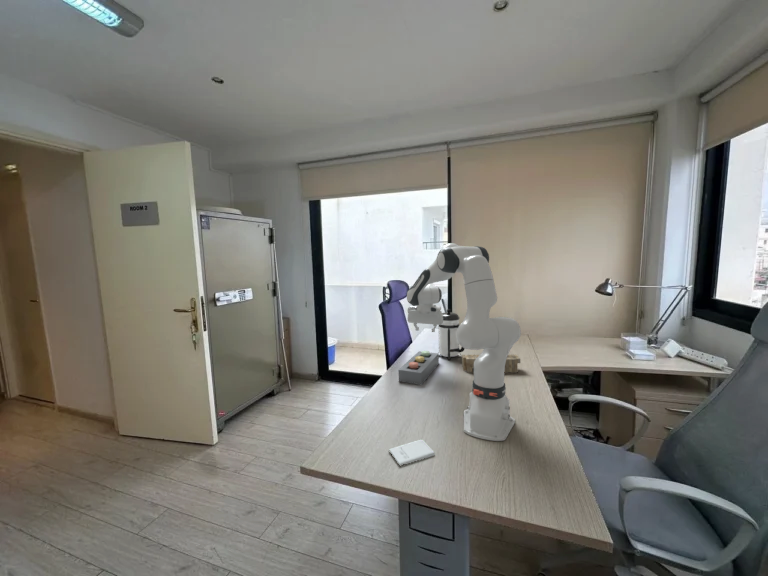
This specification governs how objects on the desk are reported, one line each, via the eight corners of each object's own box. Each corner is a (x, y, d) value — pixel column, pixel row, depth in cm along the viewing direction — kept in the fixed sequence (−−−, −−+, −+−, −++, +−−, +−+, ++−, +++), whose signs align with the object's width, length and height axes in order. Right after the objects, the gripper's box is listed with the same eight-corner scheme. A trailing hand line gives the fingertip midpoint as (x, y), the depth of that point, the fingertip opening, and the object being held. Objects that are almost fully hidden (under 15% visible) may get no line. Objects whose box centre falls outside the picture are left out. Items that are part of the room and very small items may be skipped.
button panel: (421, 384, 153) (421, 372, 152) (398, 381, 158) (398, 369, 157) (438, 363, 181) (438, 353, 181) (419, 361, 186) (419, 351, 186)
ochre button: (422, 362, 166) (422, 359, 165) (414, 361, 168) (414, 358, 168) (425, 360, 170) (425, 356, 170) (417, 359, 172) (417, 355, 172)
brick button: (416, 369, 157) (416, 365, 156) (407, 368, 159) (407, 364, 159) (419, 366, 161) (419, 362, 161) (410, 365, 163) (410, 361, 163)
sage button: (428, 357, 175) (428, 353, 174) (420, 356, 177) (420, 352, 176) (430, 354, 179) (430, 351, 179) (422, 353, 181) (422, 350, 181)
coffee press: (435, 360, 187) (434, 311, 184) (438, 352, 202) (438, 306, 199) (464, 362, 182) (464, 311, 179) (466, 353, 197) (465, 307, 194)
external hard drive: (434, 456, 99) (399, 468, 94) (421, 442, 106) (388, 452, 101) (434, 452, 99) (399, 463, 94) (421, 438, 106) (388, 448, 101)
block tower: (464, 374, 167) (521, 373, 163) (463, 359, 166) (520, 357, 162) (462, 368, 174) (516, 367, 171) (461, 354, 174) (516, 353, 170)
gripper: (405, 307, 176) (406, 331, 178) (440, 309, 168) (441, 334, 169) (409, 305, 182) (409, 328, 184) (443, 307, 173) (443, 331, 175)
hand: (425, 331), depth 176 cm, fingers open, 8 cm apart
